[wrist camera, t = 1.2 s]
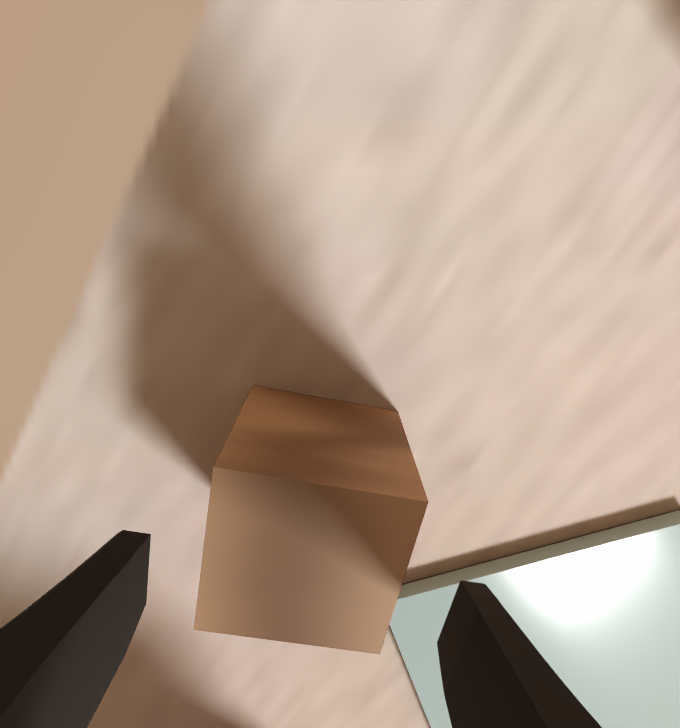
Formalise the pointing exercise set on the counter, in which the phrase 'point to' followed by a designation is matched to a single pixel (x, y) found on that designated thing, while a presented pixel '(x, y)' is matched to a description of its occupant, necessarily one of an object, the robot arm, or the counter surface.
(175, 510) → the counter surface
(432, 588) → the ceramic tile
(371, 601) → the walnut cube
